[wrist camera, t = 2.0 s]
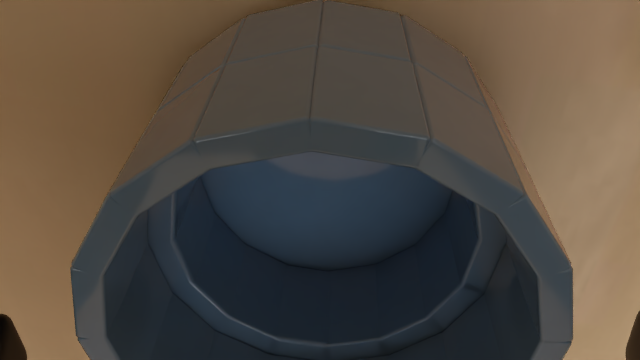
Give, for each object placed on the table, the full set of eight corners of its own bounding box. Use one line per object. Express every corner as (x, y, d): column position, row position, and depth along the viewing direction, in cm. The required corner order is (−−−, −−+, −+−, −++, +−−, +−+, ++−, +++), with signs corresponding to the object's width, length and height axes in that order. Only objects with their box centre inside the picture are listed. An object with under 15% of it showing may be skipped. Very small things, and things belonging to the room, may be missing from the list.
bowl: (115, 194, 13) (9, 380, 9) (265, -88, 10) (206, 2, 6) (370, 319, 15) (379, 521, 11) (569, 114, 12) (690, 292, 8)
